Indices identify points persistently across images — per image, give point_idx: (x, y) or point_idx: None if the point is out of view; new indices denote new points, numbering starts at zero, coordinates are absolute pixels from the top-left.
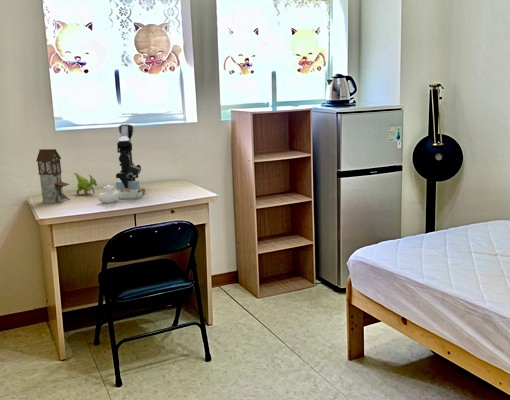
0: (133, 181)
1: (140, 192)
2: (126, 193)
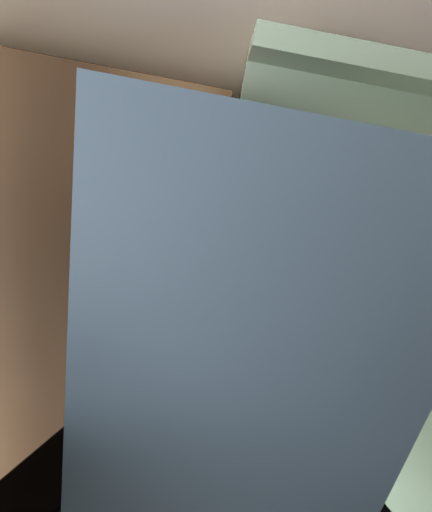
0: (313, 402)
1: (392, 46)
2: None
